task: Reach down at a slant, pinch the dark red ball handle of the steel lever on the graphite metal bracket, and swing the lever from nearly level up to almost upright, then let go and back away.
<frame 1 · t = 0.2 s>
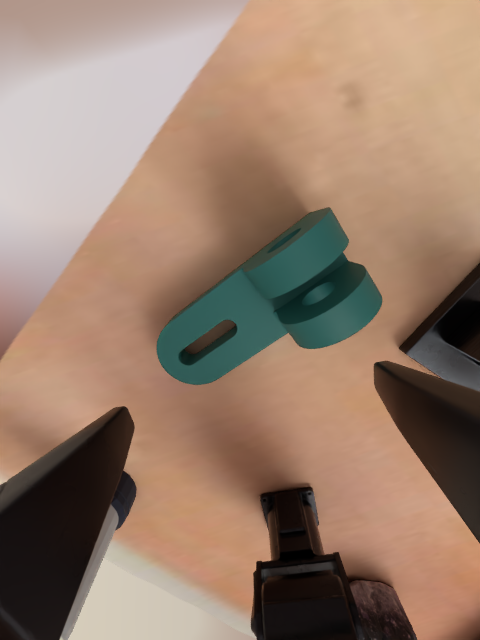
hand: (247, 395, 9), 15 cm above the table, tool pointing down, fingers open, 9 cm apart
bracket 2: (245, 307, 23), on the table
bracket: (471, 331, 24), on the table
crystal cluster: (355, 597, 39), on the table
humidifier: (104, 485, 31), on the table
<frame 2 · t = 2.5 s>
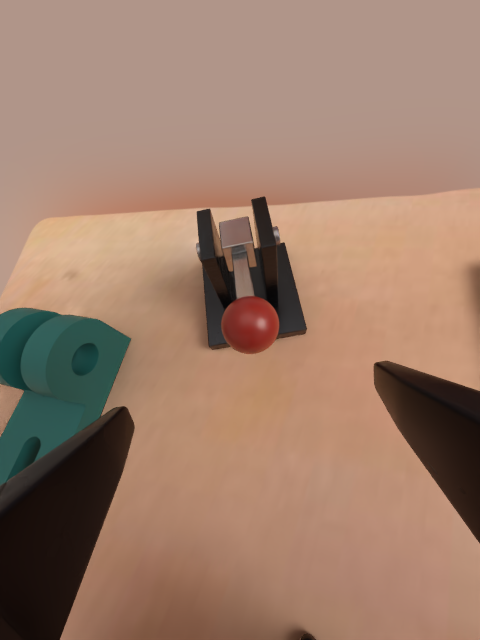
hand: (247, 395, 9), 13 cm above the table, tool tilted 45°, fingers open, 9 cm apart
bracket 2: (65, 423, 24), on the table
bracket: (250, 296, 26), on the table
lever: (243, 281, 17), point 9 cm above the table, hinge at 8.0°
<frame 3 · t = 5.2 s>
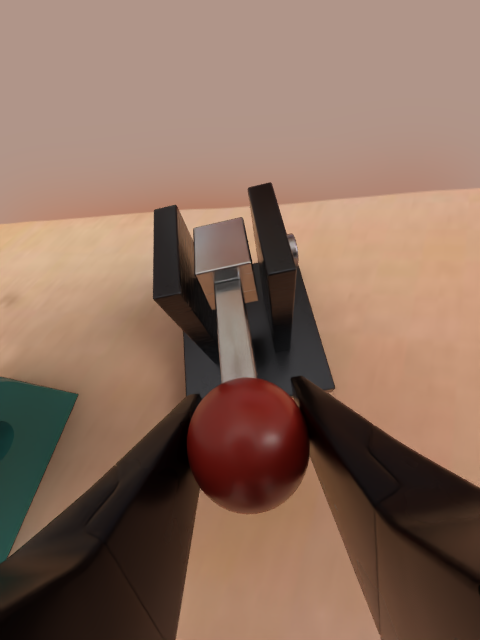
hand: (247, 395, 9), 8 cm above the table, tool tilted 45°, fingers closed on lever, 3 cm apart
bracket: (248, 332, 18), on the table
lever: (235, 336, 9), point 9 cm above the table, hinge at 8.0°, touching gripper
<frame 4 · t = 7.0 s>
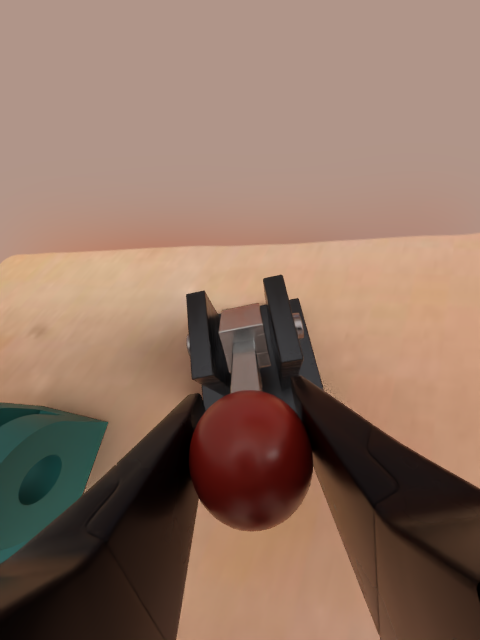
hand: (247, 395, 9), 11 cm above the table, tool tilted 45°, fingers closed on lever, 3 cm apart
bracket 2: (24, 541, 19), on the table
bracket: (257, 367, 21), on the table
lever: (246, 378, 10), point 10 cm above the table, hinge at 42.3°, touching gripper
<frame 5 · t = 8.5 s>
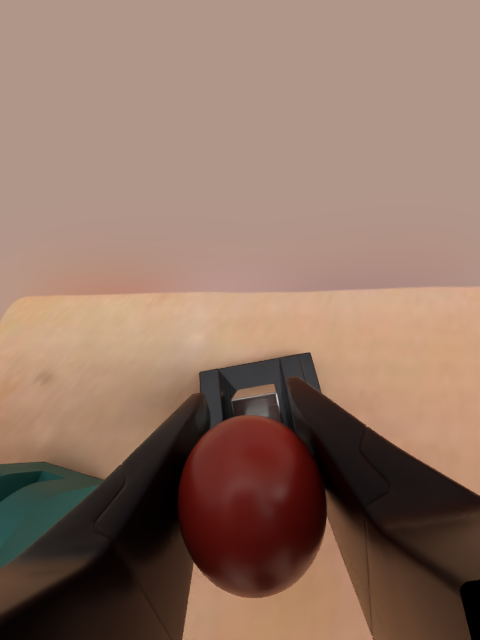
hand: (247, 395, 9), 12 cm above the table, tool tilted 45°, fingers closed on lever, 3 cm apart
bracket 2: (16, 622, 17), on the table
bracket: (268, 426, 20), on the table
lever: (256, 440, 9), point 11 cm above the table, hinge at 69.2°, touching gripper
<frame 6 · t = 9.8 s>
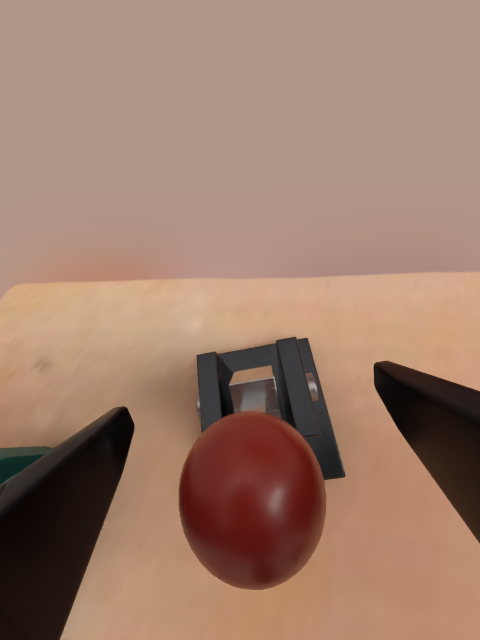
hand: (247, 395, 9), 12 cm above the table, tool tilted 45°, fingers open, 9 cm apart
bracket 2: (22, 596, 18), on the table
bracket: (265, 410, 20), on the table
lever: (254, 426, 9), point 11 cm above the table, hinge at 64.9°
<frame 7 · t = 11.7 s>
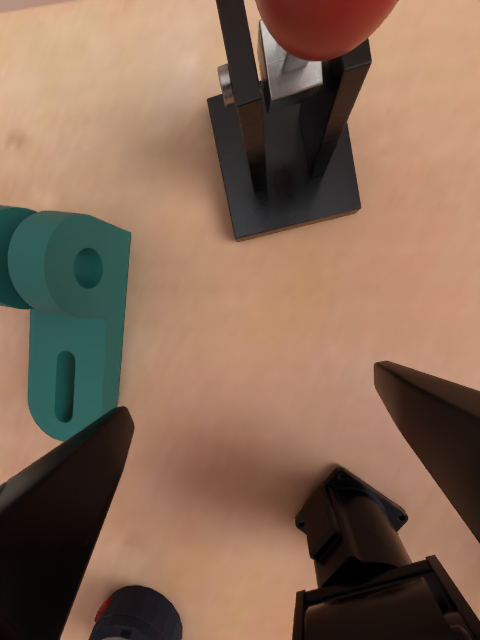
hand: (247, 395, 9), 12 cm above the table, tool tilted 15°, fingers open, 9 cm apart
bracket 2: (89, 332, 23), on the table
bracket: (282, 161, 19), on the table
lever: (303, 23, 8), point 11 cm above the table, hinge at 64.9°
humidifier: (143, 620, 25), on the table
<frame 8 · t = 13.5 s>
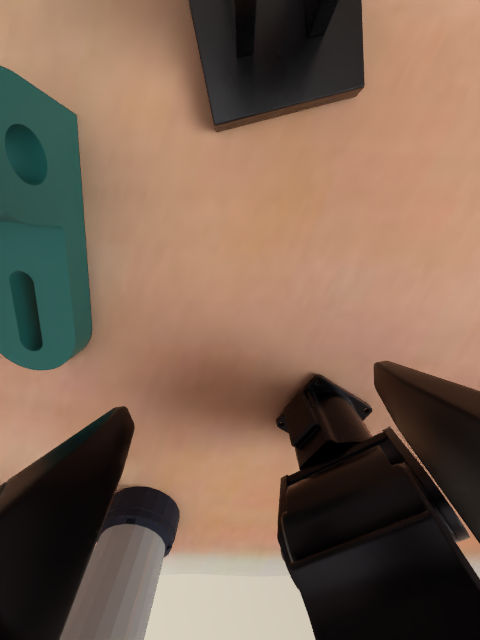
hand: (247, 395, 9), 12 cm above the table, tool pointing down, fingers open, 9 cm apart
bracket 2: (43, 251, 19), on the table
bracket: (271, 11, 14), on the table
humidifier: (144, 510, 29), on the table
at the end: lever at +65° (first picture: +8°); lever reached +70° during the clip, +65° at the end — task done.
